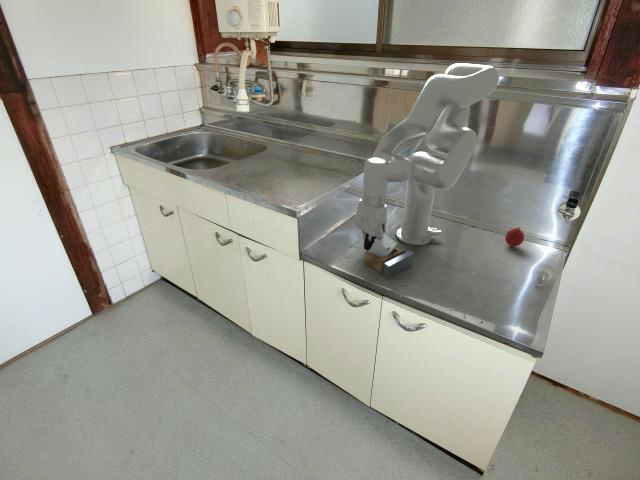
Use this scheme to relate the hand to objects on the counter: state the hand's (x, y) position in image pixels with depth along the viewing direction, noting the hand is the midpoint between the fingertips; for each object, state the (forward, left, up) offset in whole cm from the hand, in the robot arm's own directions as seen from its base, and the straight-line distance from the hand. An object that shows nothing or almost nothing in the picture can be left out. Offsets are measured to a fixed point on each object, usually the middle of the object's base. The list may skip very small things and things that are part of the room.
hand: (368, 248), depth 121 cm
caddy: (-5, +4, -3) cm, 7 cm away
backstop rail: (-9, +8, -3) cm, 13 cm away
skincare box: (-3, +2, -2) cm, 4 cm away
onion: (-51, -11, -3) cm, 52 cm away
